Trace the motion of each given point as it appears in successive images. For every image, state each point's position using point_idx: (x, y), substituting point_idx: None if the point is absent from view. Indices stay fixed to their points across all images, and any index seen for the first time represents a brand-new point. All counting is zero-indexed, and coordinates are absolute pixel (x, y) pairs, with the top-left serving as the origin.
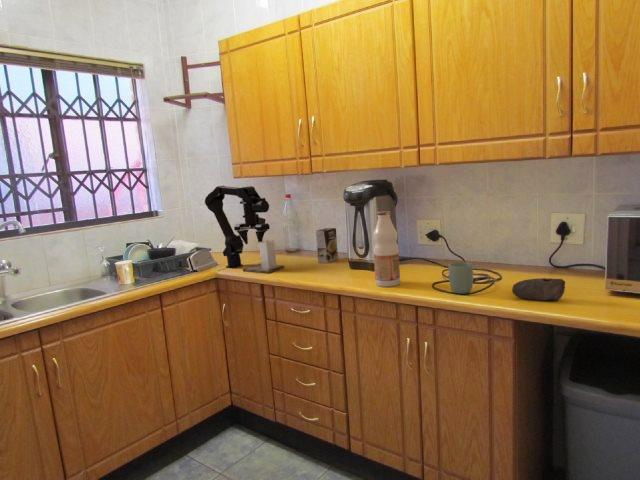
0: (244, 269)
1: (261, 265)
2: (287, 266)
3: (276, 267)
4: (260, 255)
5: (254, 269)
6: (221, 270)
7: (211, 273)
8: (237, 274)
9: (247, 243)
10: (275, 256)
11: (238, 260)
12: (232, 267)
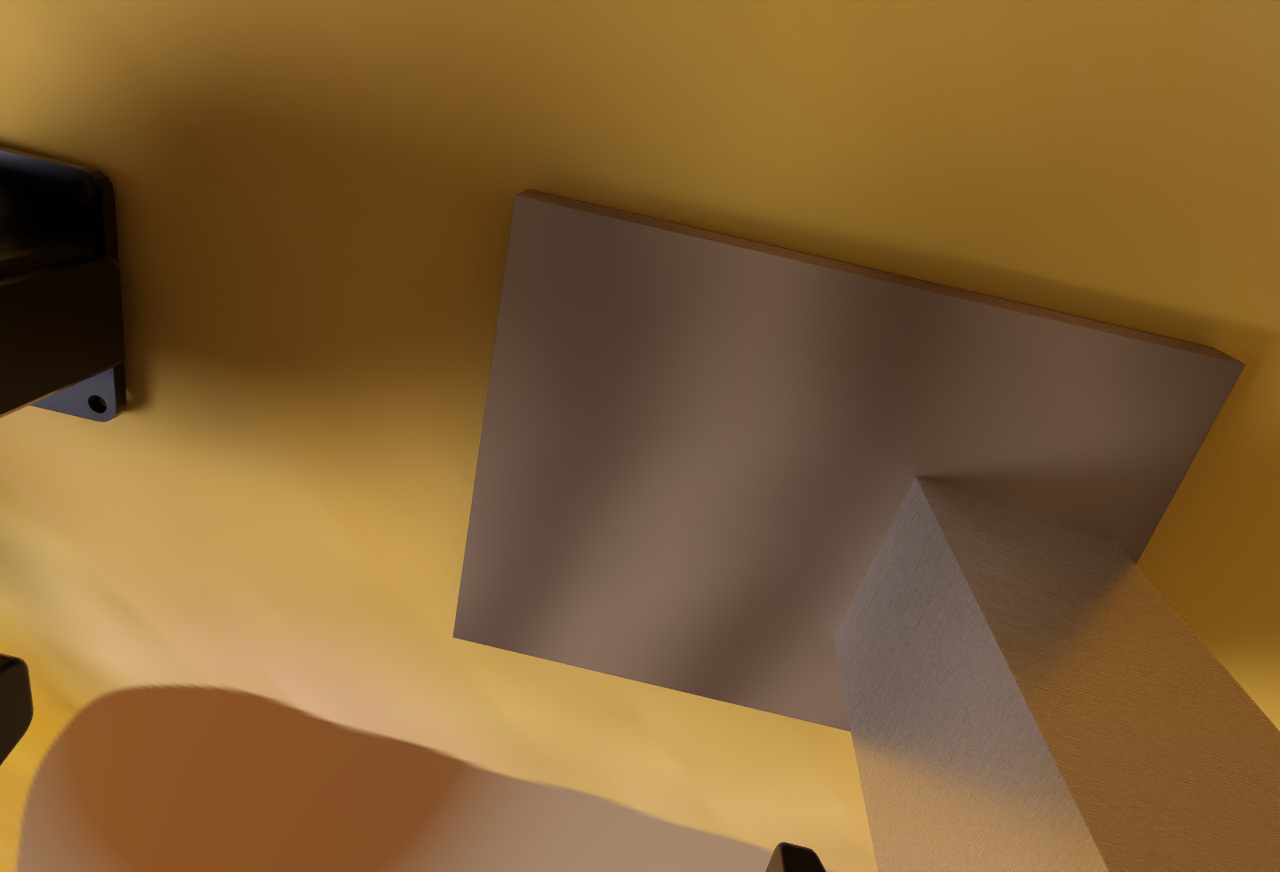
0: (496, 643)
1: (844, 683)
2: (1260, 205)
3: (1114, 545)
4: (881, 860)
5: (706, 669)
6: (25, 550)
7: (42, 710)
8: (503, 764)
9: (12, 680)
10: (1249, 699)
11: (39, 360)
12: (75, 410)
